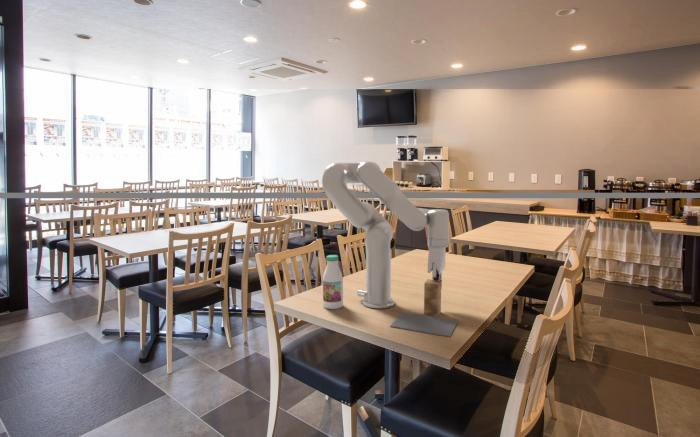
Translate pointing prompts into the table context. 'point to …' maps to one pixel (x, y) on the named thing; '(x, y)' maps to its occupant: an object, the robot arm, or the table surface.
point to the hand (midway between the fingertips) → (436, 289)
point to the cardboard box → (432, 297)
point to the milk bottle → (332, 284)
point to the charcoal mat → (425, 324)
